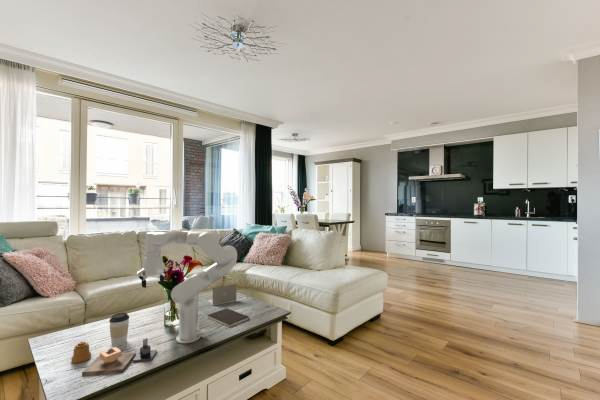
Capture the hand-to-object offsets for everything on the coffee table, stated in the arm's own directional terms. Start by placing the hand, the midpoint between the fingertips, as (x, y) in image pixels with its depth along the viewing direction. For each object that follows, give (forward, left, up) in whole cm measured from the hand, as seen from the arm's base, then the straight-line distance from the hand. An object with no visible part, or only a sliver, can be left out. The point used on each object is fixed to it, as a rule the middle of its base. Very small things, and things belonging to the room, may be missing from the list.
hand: (153, 285), depth 159 cm
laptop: (-31, -54, -29) cm, 69 cm away
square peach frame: (+9, +27, -25) cm, 38 cm away
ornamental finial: (+25, +20, -29) cm, 43 cm away
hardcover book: (-39, -20, -29) cm, 52 cm away
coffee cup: (+15, +5, -28) cm, 33 cm away
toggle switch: (+9, +27, -28) cm, 40 cm away
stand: (-4, +22, -28) cm, 36 cm away
